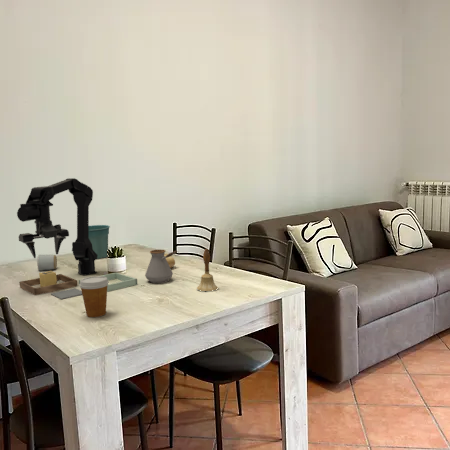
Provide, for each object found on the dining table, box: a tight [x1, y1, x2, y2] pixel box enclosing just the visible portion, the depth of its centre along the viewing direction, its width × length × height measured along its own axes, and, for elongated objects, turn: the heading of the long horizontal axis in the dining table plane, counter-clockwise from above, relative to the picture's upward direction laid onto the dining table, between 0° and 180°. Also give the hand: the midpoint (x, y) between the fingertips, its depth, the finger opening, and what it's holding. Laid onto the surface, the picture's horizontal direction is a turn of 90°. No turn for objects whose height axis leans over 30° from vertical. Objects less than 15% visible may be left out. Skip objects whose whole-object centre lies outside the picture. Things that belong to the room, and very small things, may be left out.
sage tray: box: [78, 272, 138, 293], centre depth 201 cm, size 18×17×2 cm
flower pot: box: [89, 224, 111, 260], centre depth 259 cm, size 16×16×16 cm
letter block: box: [38, 270, 58, 287], centre depth 202 cm, size 5×5×6 cm
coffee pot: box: [144, 249, 179, 284], centre depth 201 cm, size 21×12×15 cm, turn 37°
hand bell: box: [196, 248, 219, 292], centre depth 190 cm, size 8×8×16 cm
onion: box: [164, 253, 176, 269], centre depth 228 cm, size 8×8×7 cm
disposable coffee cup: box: [78, 275, 110, 318], centre depth 163 cm, size 10×10×12 cm
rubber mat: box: [50, 287, 83, 300], centre depth 190 cm, size 10×10×1 cm
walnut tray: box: [19, 273, 79, 296], centre depth 202 cm, size 18×17×2 cm
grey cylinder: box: [36, 254, 58, 272], centre depth 235 cm, size 11×8×8 cm
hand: (46, 256), depth 200 cm, fingers open, 9 cm apart
